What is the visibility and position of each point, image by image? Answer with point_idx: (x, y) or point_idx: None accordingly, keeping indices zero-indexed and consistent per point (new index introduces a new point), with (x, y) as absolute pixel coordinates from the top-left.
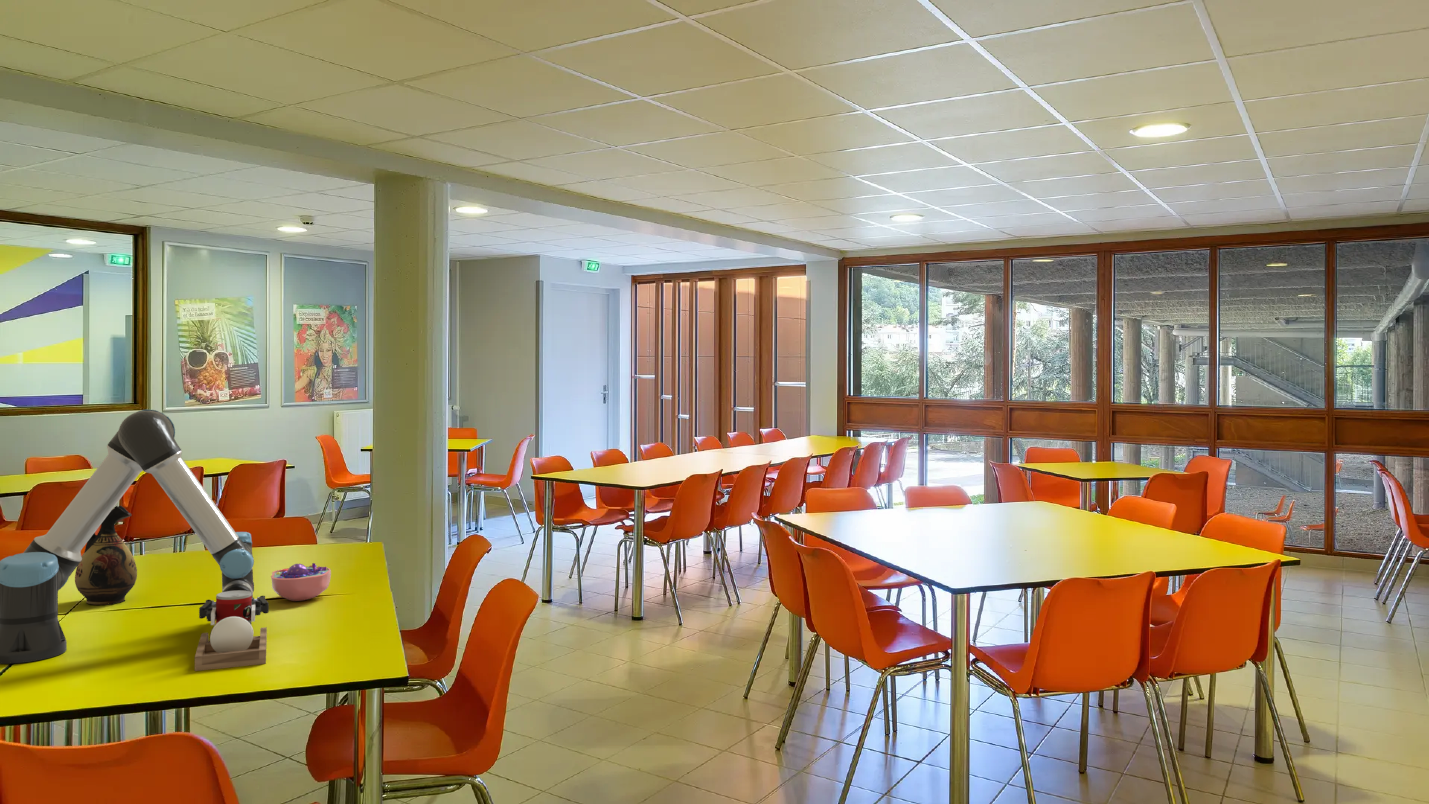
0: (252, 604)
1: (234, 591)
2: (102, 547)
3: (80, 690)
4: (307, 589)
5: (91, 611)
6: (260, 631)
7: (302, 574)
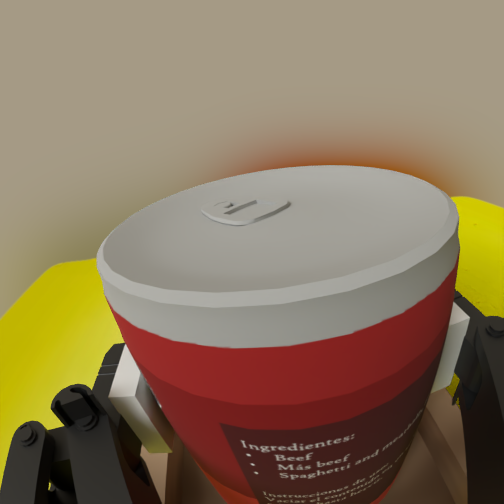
0: (126, 474)
1: (311, 278)
2: None
3: (471, 226)
4: None
5: None
6: (164, 495)
7: None
